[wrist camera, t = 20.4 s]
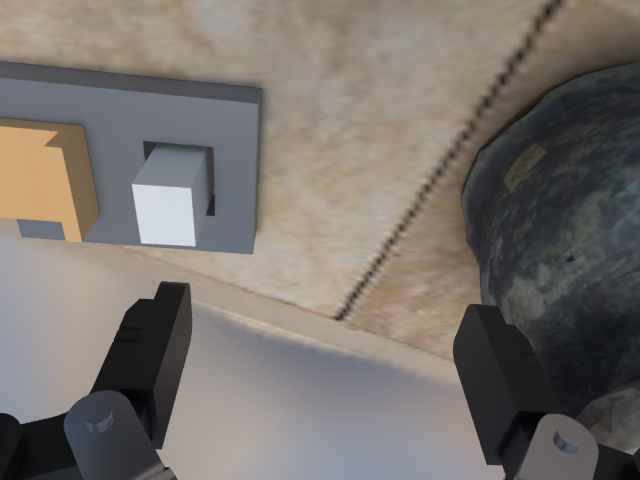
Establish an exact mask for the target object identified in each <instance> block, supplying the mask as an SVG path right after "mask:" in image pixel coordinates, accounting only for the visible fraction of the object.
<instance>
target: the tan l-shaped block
mask: <svg viewBox="0 0 640 480" xmlns="http://www.w3.org/2000/svg"><path fill="white" fill-rule="evenodd" d="M99 216H100V214H99V208H98V203H97V197H96V192H95V187H94V181H93V176H92V170H91V165H90V159H89V154H88V149H87V143H86V138H85V132H84V127H83V126H79V125H69V124H58V123H48V122H37V121H27V120H16V119H5V118H0V217H3V218H16V219H28V220H41V221H54V222H62V226H63V230H64V235H65V239H66V241H69V242H83V240H84V239H85V237H86V236H87V234H88V233H89V231H90V230H91V228H92V227H93V225H94V224H95V222H96V220H97V219H98V217H99Z"/></svg>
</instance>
